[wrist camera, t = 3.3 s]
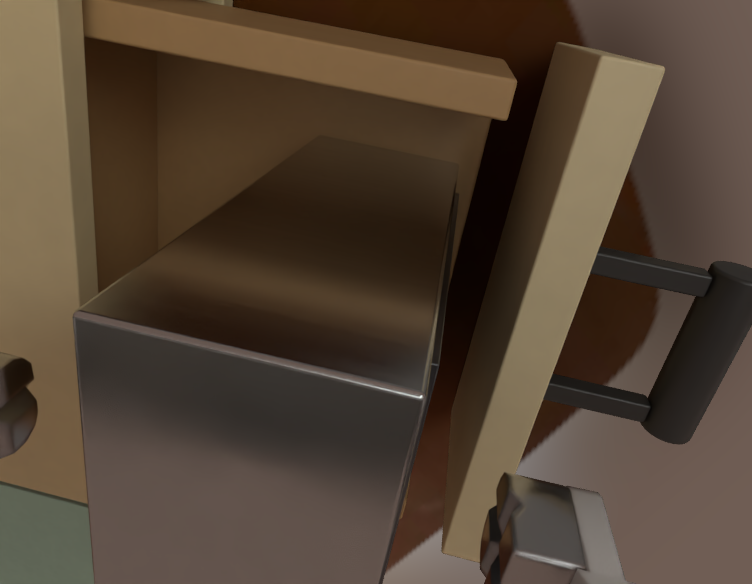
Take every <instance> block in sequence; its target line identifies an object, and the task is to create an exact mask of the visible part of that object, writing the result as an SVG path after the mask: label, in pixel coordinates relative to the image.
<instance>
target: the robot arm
mask: <svg viewBox="0 0 752 584" xmlns="http://www.w3.org/2000/svg"><path fill="white" fill-rule="evenodd" d="M33 380H34V375H33V370H32V364H31V362H29V361H27V360H26V359H24V358H22V357H18V356H14V355H10V354H7V353H3V352H0V459H1V458H4V457H7V456H9V455H12V454H14V453H15V452H16V451H17V450H18V449H19V448H21V447H22V446H23V445H24V444H25V443H26V442H27V440H28V438H29V436H30V435H31V433H32V431H33V429H34V427H35V425H36V420H37V415H38V407H37V400H36V399H35V397H34V396H33V395H32V393H31V392H30V391H29V389H28V388H27V387H28V386H29V385H30V383H31V382H32V381H33ZM496 499H497V505H496V506H494V507H492V508H491V509H489V511H488V514H487V517H486V521H485V524H484V528H483V533H482V538H481V547H480V570H481V571H482V573H483V574H484V576H485V577H486V580H485V583H484V584H635V583H632V582H628V581H626V580H625V577H624V573H623V570H622V566H621V562H620V559H619V555H618V552H617V548H616V545H615V541H614V538H613V535H612V531H611V527H610V523H609V520H608V516H607V513H606V509H605V506H604V502H603V498H602V497H601V496H600V494H599V493H598V492H594V491H589V490H585V489H580V488H575V487H571V486H563V485H559V484H555V483H550V482H546V481H541V480H537V479H533V478H528V477H524V476H519V475H515V474H511V473H507V472H504V473H503V475H502V476H501V478H500V481H499V483H498V486H497V489H496Z"/></svg>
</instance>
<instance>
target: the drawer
mask: <svg viewBox="0 0 752 584" xmlns="http://www.w3.org/2000/svg"><path fill="white" fill-rule="evenodd" d="M82 14H83V31H84V49H85V66H86V84H87V101H88V119H89V136H90V154H91V171H92V189H93V206H94V224H95V241H96V259H97V276H98V293H100V292H102V291H103V290H104V289H106V288H107V287H109V286H110V285H111V284H113V283H114V282H115V281H117V280H118V279H120V278H121V277H122V276H124V275H125V274H127V273H128V272H129V271H131V270H132V269H134V268H135V267H136V266H138V265H139V264H141V263H142V262H143V261H145V260H146V259H147V258H149V257H150V256H152V255H153V254H154V253H156V252H157V251H159V250H160V249H161V248H163V247H164V246H166V245H167V244H168V243H170V242H171V241H173V240H174V239H175V238H177V237H178V236H179V235H181V234H182V233H184V232H185V231H186V230H188V229H189V228H191V227H192V226H193V225H195V224H196V223H198V222H199V221H200V220H202V219H203V218H205V217H206V216H207V215H209V214H210V213H211V212H213V211H214V210H216V209H217V208H218V207H220V206H221V205H223V204H224V203H225V202H227V201H228V200H230V199H231V198H232V197H234V196H235V195H237V194H238V193H239V192H241V191H242V190H243V189H245V188H246V187H248V186H249V185H250V184H252V183H253V182H255V181H256V180H257V179H259V178H260V177H262V176H263V175H264V174H266V173H267V172H269V171H270V170H271V169H273V168H274V167H275V166H277V165H278V164H280V163H281V162H282V161H284V160H285V159H287V158H288V157H289V156H291V155H292V154H294V153H295V152H296V151H298V150H299V149H301V148H302V147H303V146H305V145H306V144H307V143H309V142H310V141H312V140H313V139H314V138H316V137H317V136H319V135H324V136H328V137H333V138H338V139H343V140H348V141H352V142H357V143H362V144H367V145H372V146H377V147H381V148H386V149H391V150H396V151H401V152H406V153H410V154H415V155H420V156H425V157H430V158H434V159H439V160H444V161H449V162H454V163H457V164H459V172H458V179H457V186H456V193H458V194H459V201H458V210H457V218H456V227H455V235H454V244H453V252H452V261H451V269H450V278H449V286H450V282H451V278H452V274H453V270H454V266H455V262H456V258H457V254H458V250H459V246H460V243H461V239H462V235H463V231H464V227H465V223H466V219H467V215H468V211H469V207H470V203H471V199H472V195H473V191H474V187H475V183H476V179H477V175H478V171H479V167H480V163H481V159H482V155H483V151H484V147H485V143H486V139H487V136H488V132H489V128H490V124H491V120H492V119H496V120H501V121H506V120H507V119H508V116H509V112H510V108H511V104H512V101H513V97H514V93H515V89H516V85H517V80H516V78H515V77H514V75H513V74H512V72H511V70H510V69H509V67H508V65H507V64H506V62H505V61H504V60H503V59H499V58H494V57H489V56H484V55H478V54H473V53H468V52H463V51H458V50H452V49H447V48H442V47H437V46H432V45H427V44H421V43H416V42H411V41H406V40H401V39H395V38H390V37H385V36H380V35H375V34H370V33H364V32H359V31H354V30H349V29H344V28H338V27H333V26H328V25H323V24H318V23H313V22H307V21H302V20H297V19H292V18H287V17H281V16H276V15H271V14H266V13H261V12H256V11H250V10H245V9H240V8H235V7H230V6H224V5H219V4H214V3H209V2H204V1H199V0H82ZM664 72H665V68H664V67H663V66H660V65H656V64H652V63H648V62H644V61H640V60H636V59H633V58H628V57H625V56H621V55H617V54H613V53H609V52H605V51H601V50H597V49H592V48H587V47H582V46H576V45H571V44H566V43H561V42H558V43H556V45H555V49H554V52H553V56H552V59H551V63H550V66H549V70H548V73H547V77H546V80H545V84H544V87H543V91H542V94H541V98H540V101H539V105H538V108H537V112H536V115H535V119H534V122H533V126H532V129H531V133H530V136H529V140H528V143H527V147H526V150H525V154H524V157H523V161H522V164H521V168H520V171H519V175H518V178H517V182H516V185H515V189H514V192H513V196H512V199H511V203H510V206H509V210H508V214H507V217H506V221H505V224H504V228H503V231H502V235H501V238H500V242H499V245H498V249H497V252H496V256H495V259H494V263H493V266H492V270H491V273H490V277H489V280H488V284H487V287H486V291H485V294H484V298H483V301H482V305H481V308H480V312H479V315H478V319H477V322H476V326H475V329H474V333H473V336H472V340H471V343H470V347H469V350H468V354H467V357H466V361H465V364H464V368H463V371H462V375H461V378H460V382H459V385H458V389H457V392H456V396H455V399H454V403H453V406H452V412H451V425H450V439H449V453H448V467H447V481H446V495H445V509H444V522H443V536H442V553H443V554H447V555H451V556H455V557H459V558H463V559H466V560H470V561H474V562H478V563H480V547H481V538H482V533H483V528H484V524H485V521H486V517H487V514H488V511H489V509H491V508H492V507H494V506H496V505H497V499H496V489H497V486H498V483H499V481H500V478H501V476H502V475H503V473H504V472H507V473H511V474H515V473H516V471H517V468H518V465H519V462H520V460H521V457H522V454H523V452H524V449H525V446H526V444H527V441H528V438H529V436H530V433H531V430H532V427H533V425H534V422H535V419H536V417H537V414H538V411H539V409H540V406H541V403H542V401H543V399H545V400H549V401H553V402H557V403H562V404H566V405H570V406H575V407H579V408H583V409H587V410H592V411H596V412H600V413H605V414H609V415H613V416H618V417H621V418H626V419H630V420H634V421H639V422H640V423H641V425H642V426H643V427H644V428H645V429H646V430H647V431H648V432H649V433H650V434H652V435H653V436H655V437H656V438H658V439H660V440H663V441H665V442H668V443H672V444H685V443H686V442H688V441H689V440H690V439H691V437H692V435H693V434H694V432H695V430H696V428H697V426H698V424H699V422H700V420H701V419H702V417H703V415H704V413H705V411H706V409H707V407H708V406H709V404H710V402H711V400H712V398H713V396H714V394H715V393H716V391H717V389H718V387H719V385H720V383H721V381H722V379H723V378H724V376H725V374H726V372H727V370H728V368H729V366H730V364H731V363H732V361H733V359H734V357H735V355H736V353H737V352H738V350H739V348H740V346H741V344H742V342H743V340H744V338H745V337H746V335H747V332H748V331H749V329H750V327H751V325H752V268H749V267H747V266H744V265H740V264H736V263H732V262H726V261H716V262H713V263H712V264H711V266H710V268H709V270H708V272H707V271H706V270H705V269H702V268H698V267H694V266H689V265H684V264H679V263H674V262H670V261H665V260H660V259H656V258H651V257H647V256H642V255H637V254H633V253H628V252H623V251H619V250H614V249H609V248H605V247H600V244H601V242H602V239H603V236H604V234H605V231H606V228H607V226H608V223H609V220H610V218H611V215H612V212H613V209H614V207H615V204H616V201H617V199H618V196H619V193H620V191H621V188H622V185H623V183H624V180H625V177H626V175H627V172H628V169H629V166H630V164H631V161H632V158H633V156H634V153H635V150H636V147H637V145H638V142H639V140H640V137H641V134H642V131H643V129H644V126H645V123H646V121H647V118H648V115H649V113H650V110H651V107H652V104H653V102H654V99H655V96H656V94H657V91H658V88H659V86H660V83H661V80H662V78H663V75H664ZM590 273H591V274H596V275H600V276H605V277H610V278H614V279H619V280H623V281H628V282H633V283H637V284H642V285H646V286H651V287H655V288H660V289H665V290H670V291H674V292H679V293H683V294H688V295H692V296H696V297H695V299H694V302H693V303H692V306H691V308H690V310H689V312H688V314H687V316H686V318H685V320H684V322H683V325H682V327H681V329H680V331H679V333H678V335H677V337H676V339H675V341H674V344H673V346H672V348H671V350H670V352H669V354H668V356H667V359H666V360H665V363H664V365H663V367H662V369H661V371H660V373H659V375H658V378H657V379H656V382H655V384H654V386H653V388H652V390H651V392H650V394H649V396H648V398H647V397H646V396H645V395H643V394H638V393H634V392H630V391H625V390H621V389H616V388H612V387H608V386H604V385H599V384H595V383H591V382H586V381H582V380H578V379H573V378H569V377H565V376H560V375H556V374H553V371H554V368H555V366H556V363H557V360H558V357H559V355H560V352H561V349H562V347H563V344H564V341H565V339H566V336H567V333H568V331H569V328H570V325H571V323H572V320H573V317H574V314H575V312H576V309H577V306H578V304H579V301H580V298H581V296H582V293H583V290H584V288H585V285H586V282H587V279H588V277H589V274H590ZM448 290H449V287H448ZM409 483H410V479H409ZM409 483H408V487H407V491H406V495H405V499H404V502H403V506H402V510H401V514H400V518H399V519H401V518H402V517H403V513H404V509H405V505H406V501H407V496H408V489H409Z"/></svg>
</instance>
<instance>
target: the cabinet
mask: <svg viewBox="0 0 752 584" xmlns="http://www.w3.org/2000/svg"><path fill="white" fill-rule="evenodd" d="M199 1H204V2H209V3H214V4H219V5H224V6H230V7H233V0H199ZM97 294H99V293H98V276H97V259H96V241H95V224H94V206H93V189H92V171H91V154H90V136H89V119H88V101H87V84H86V66H85V49H84V31H83V14H82V0H0V352H3V353H7V354H10V355H14V356H18V357H22V358H24V359H26V360H27V361H29V362H31V364H32V370H33V375H34V380H33V381H32V382H31V383H30V385H29V386H28V387H27V388H28V389H29V391H30V392H31V393H32V395H33V396H34V397H35V399H36V400H37V407H38V415H37V420H36V425H35V427H34V429H33V431H32V433H31V435H30V436H29V438H28V440H27V442H26V443H25V444H24V445H23V446H22V447H21V448H19V449H18V450H17V451H16V452H15V453H14V454H12V455H9V456H7V457H4V458H1V459H0V481H3V482H6V483H10V484H14V485H18V486H22V487H25V488H29V489H33V490H37V491H41V492H44V493H48V494H52V495H56V496H60V497H63V498H67V499H71V500H75V501H79V502H82V503H86V504H88V500H87V488H86V476H85V463H84V451H83V439H82V427H81V415H80V402H79V390H78V378H77V366H76V354H75V341H74V329H73V314H74V312H75V310H77V309H78V308H79V307H81V306H82V305H83V304H85V303H86V302H88V301H89V300H90V299H92V298H93V297H95V296H96V295H97Z"/></svg>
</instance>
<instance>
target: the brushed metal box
mask: <svg viewBox="0 0 752 584" xmlns="http://www.w3.org/2000/svg"><path fill="white" fill-rule="evenodd" d="M458 172H459V164H457V163H454V162H449V161H444V160H439V159H434V158H430V157H425V156H420V155H415V154H410V153H406V152H401V151H396V150H391V149H386V148H381V147H377V146H372V145H367V144H362V143H357V142H352V141H348V140H343V139H338V138H333V137H328V136H324V135H319V136H317V137H316V138H314V139H313V140H312V141H310V142H309V143H307V144H306V145H305V146H303V147H302V148H301V149H299V150H298V151H296V152H295V153H294V154H292V155H291V156H289V157H288V158H287V159H285V160H284V161H282V162H281V163H280V164H278V165H277V166H275V167H274V168H273V169H271V170H270V171H269V172H267V173H266V174H264V175H263V176H262V177H260V178H259V179H257V180H256V181H255V182H253V183H252V184H250V185H249V186H248V187H246V188H245V189H243V190H242V191H241V192H239V193H238V194H237V195H235V196H234V197H232V198H231V199H230V200H228V201H227V202H225V203H224V204H223V205H221V206H220V207H218V208H217V209H216V210H214V211H213V212H211V213H210V214H209V215H207V216H206V217H205V218H203V219H202V220H200V221H199V222H198V223H196V224H195V225H193V226H192V227H191V228H189V229H188V230H186V231H185V232H184V233H182V234H181V235H179V236H178V237H177V238H175V239H174V240H173V241H171V242H170V243H168V244H167V245H166V246H164V247H163V248H161V249H160V250H159V251H157V252H156V253H154V254H153V255H152V256H150V257H149V258H147V259H146V260H145V261H143V262H142V263H141V264H139V265H138V266H136V267H135V268H134V269H132V270H131V271H129V272H128V273H127V274H125V275H124V276H122V277H121V278H120V279H118V280H117V281H115V282H114V283H113V284H111V285H110V286H109V287H107V288H106V289H104V290H103V291H102V292H100V293H99V294H97V295H96V296H95V297H93V298H92V299H90V300H89V301H88V302H86V303H85V304H83V305H82V306H81V307H79V308H78V309H77V310H75V312H74V314H73V329H74V341H75V354H76V366H77V378H78V390H79V402H80V415H81V427H82V439H83V451H84V463H85V476H86V488H87V500H88V512H89V524H90V537H91V549H92V561H93V573H94V584H382V583H383V579H384V575H385V571H386V567H387V564H388V560H389V556H390V552H391V548H392V544H393V541H394V537H395V533H396V529H397V525H398V521H399V518H400V514H401V510H402V506H403V502H404V499H405V495H406V491H407V487H408V483H409V479H410V476H411V472H412V468H413V464H414V460H415V456H416V453H417V449H418V445H419V441H420V437H421V434H422V430H423V426H424V422H425V418H426V414H427V411H428V407H429V403H430V399H431V395H432V391H433V388H434V384H435V380H436V376H437V372H438V369H439V363H440V355H441V346H442V338H443V329H444V321H445V312H446V304H447V295H448V287H449V278H450V269H451V261H452V252H453V244H454V235H455V227H456V218H457V210H458V201H459V194H458V193H456V186H457V179H458Z"/></svg>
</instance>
